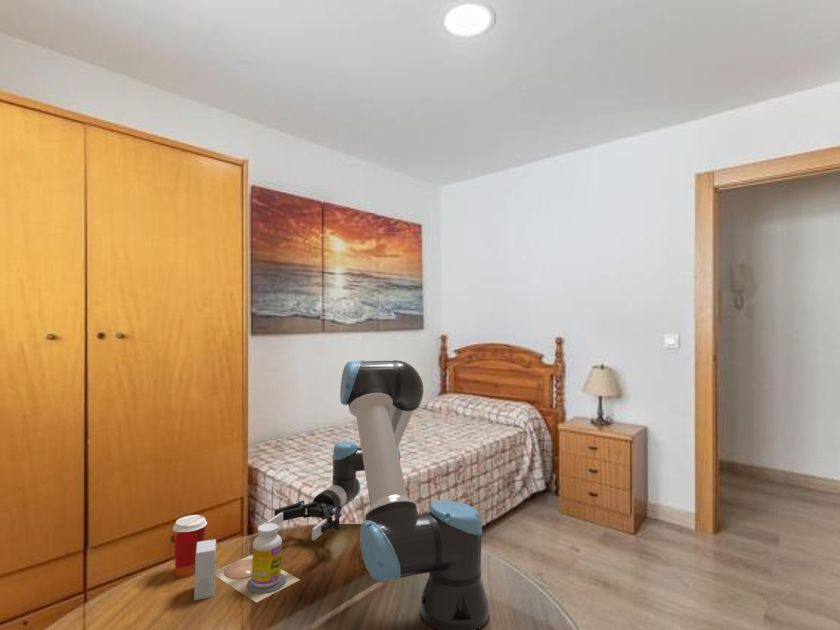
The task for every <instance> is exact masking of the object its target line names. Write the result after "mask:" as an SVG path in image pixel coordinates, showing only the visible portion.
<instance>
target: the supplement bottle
mask: <svg viewBox="0 0 840 630" xmlns="http://www.w3.org/2000/svg"><path fill="white" fill-rule="evenodd" d="M278 532H279V526H278V525H277V524H274V523H267V522H266V523H264V524H261V525H259V526H258V527H257V535H258V536H257V537H255V539H254V540H253V542H252V555H253V557H252V584H253V585H254V586H255V587H259V588H267V587H271V586H273V585H275V584H276V583H278V582H279V580H280V577H281V570H282V550H283V549H282V545H283V544H282V543H283V540H282V537H281V535H279V534H278Z"/></svg>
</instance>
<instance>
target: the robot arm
mask: <svg viewBox="0 0 840 630" xmlns="http://www.w3.org/2000/svg"><path fill="white" fill-rule="evenodd" d="M339 388H340V390H339V392H340V393H339V399H340V403H341V405H344V406H348V411H349V413H350V414H351V415H352V416H353V417H355V418H356V423H357V424H356V425H357V430H358V437H359V443H360V447H358V444H357V443H356V442H354V441H350V440H349V441H347V440H344V441H339V442H337V443H335V444H334V445H333V455H332V483H331V484H332V485H330V486H328V487H327V488H326V489H324V490H323V491H321V492H320V493H318V494H317V495H316V496H315V497H314V499H313V500H312V502H310V503H309V502H308V503H306V504H305V501H304V500H300V501H299V502H296V503H293V504H290V505H287V506H281V507H279V508H275V509H274V514H273V516H272V517H271V518H270V519H269V520H267V521H266V524H267V523H274V524H277V525H278V527H280V526H281V525H282V524H283V523H284V522H285V521H288V520H289V521H290V520H294V519H298V518H303V519H307V518H317V519H319V518H320V520H321V521H320V522H319V523H318V524H316V525H315V526H314V527H313V528H312V529H311V540H312V541H315V540H316V539H318V538H319V537H320V536H322V534H324V533H327V532H328V531H329V530H332V529H333V528H334V530H340V519H341V517H342V515H343V508H344V507H345V506H347V505H348V504H349V503H350V502H352V501H353V500H355V498H356V497H357V496H358V495H359V494H360V490H361V484H360V481H359V479H358V478H357V477H356V476H357V475H356V474H357V473H358V472H364V474H365V481H366V487H367V493H368V499H369V505H370V507H369V508H368V510H367V511H366V513H365V516H364V517H365V518H364V519H365V521H363V522H362V523H361V525H360V526H359V539H360V541H359V545H360V551H361V555H362V559H363V562H364V566H365V568H366V570H367V571H368V573H369V575H370V576H371V577H372V578H373V579H374V580H375V581H378V582H385V581H392V580H393V581H398V580H399V579H401V578H407V577H413V576H418V575H422V574H428V577H427V579H426V582H425V583H426V584H425V586H424V589H423V591H422V595H421V599H420V614H421V617H422V619H423V621H425V623H426V624H428V625H429V626H430V627H432V628H433V627H434V629H435V628H436V629H435V630H438V629H439V630H474V629H477V630H479V629H480V628H479V627H481V626H482V627H484V626H485V624H486V623H487V621H488V620H489V615H490V614H489V610H490V609H489V601H488V599H487V594H486V591H485V586H484V584H483V580H482V535H483V525H482V517H481V514H480V513H479V511H478V510H476V509H475V508H474V507H472V506H470V505H468V504H465V503H463V502H460V501H454V500H436V501H434V502H432V503H430V506H429V509H428V510H429V512H425V513H419V512H418V508H417V504H416V502H415V501H413V500H411V499H410V498H409V496H408V494H407V493H408V492H407V489H406V483H405V480H404V476H403V475H404V474H403V471H402V465H401V451H400V448H399V445H400V444H401V441H402V440H403V439H402V438H403V436H404V435H405V432H406V429H407V428H408V427H407V426H408V424H409V422H410V421H411V420H410V419H411V417H412V415H413V412H414V411H416V410H417V409H418V408H419V406H420V405H421V403H422V400H423V397H424V384H423V380H422V378H421V376H420V374H419V372H418V371H417V369H416V368H414V366H412V365H411V364H409V363H408V362H406V361H401V360H398V359H397V360H396V359H395V360H361V359H359V360H351V361H348V362H346V363H345V365H344V367H343V370H342V374H341V379H340V387H339ZM333 516H334V520H333ZM482 627H481V628H482ZM478 628H479V629H478Z"/></svg>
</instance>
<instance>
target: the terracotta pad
mask: <svg viewBox="0 0 840 630" xmlns="http://www.w3.org/2000/svg"><path fill="white" fill-rule="evenodd" d="M239 560H240V561H239ZM239 560H236V561H234V562H232V563H229V564H230V565H229V564H227V565H228V566H227V565H226V566H227V567H226V568H225V570H224V575H225V576H226V577H228V578H231V579H243V578H248V577H251V576H252V559H246V560H241V559H239Z"/></svg>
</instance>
